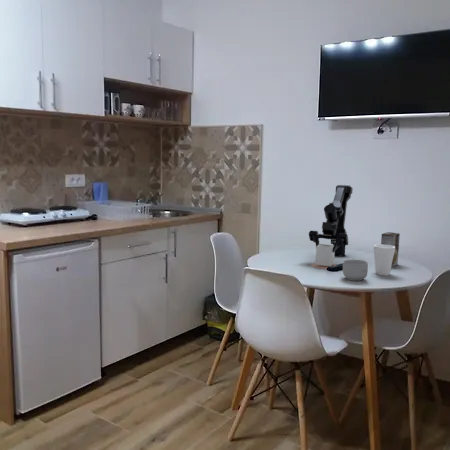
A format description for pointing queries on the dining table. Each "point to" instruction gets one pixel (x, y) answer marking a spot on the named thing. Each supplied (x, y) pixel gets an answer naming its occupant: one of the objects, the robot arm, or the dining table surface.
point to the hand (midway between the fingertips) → (324, 251)
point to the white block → (324, 255)
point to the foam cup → (383, 258)
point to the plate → (321, 266)
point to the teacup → (355, 269)
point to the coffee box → (391, 240)
